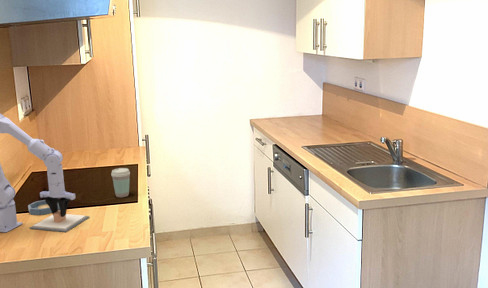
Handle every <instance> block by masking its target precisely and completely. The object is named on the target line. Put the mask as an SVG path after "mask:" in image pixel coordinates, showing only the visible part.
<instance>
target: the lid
mask: <svg viewBox="0 0 488 288" xmlns="http://www.w3.org/2000/svg"><path fill="white" fill-rule="evenodd" d="M86 216H87V215H83V214H81V215H80V214H71V213H69V214H68V213H66V215H65V216H64V217H61V213H60V210H58V211H57V212H55V213H53V214H52V215H49V216H48V217H46V218H44V219H43V220H41V221H38V222H37V223H35V224H33V225H32V226H33V227H39V228H49V229H60V230H66V229H68V228H69V227H71V226H72V225H74V224H76V223H77V222H79V221H80V220H82V219H84V218H85V217H86Z"/></svg>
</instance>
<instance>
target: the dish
mask: <svg viewBox="0 0 488 288" xmlns="http://www.w3.org/2000/svg"><path fill="white" fill-rule="evenodd" d="M45 200H46V199H43V200H37V201H34V202H32V203H30V204H28V205H27V208H28V212H29V215H35V216H44V215H49V214H52V211H51V209H50V207H49V206H48V204H47V203H46V202H45ZM59 210H60V207H59V204H58V211H59Z"/></svg>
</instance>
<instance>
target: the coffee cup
mask: <svg viewBox="0 0 488 288" xmlns="http://www.w3.org/2000/svg"><path fill="white" fill-rule="evenodd" d="M130 174H131V171H130V169H129V168H127V167H119V168H114V169H112V170H111V174H110V175H111V176H110V177H111V178H112V183H113V187H114V188H113V189H114V194H115V196H116V197H117V198H126V197H128V196H129V194H130V179H131V178H130V177H131V175H130Z"/></svg>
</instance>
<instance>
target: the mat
mask: <svg viewBox="0 0 488 288" xmlns="http://www.w3.org/2000/svg"><path fill="white" fill-rule="evenodd" d="M85 216H86V217H85V218H84V219H82V220H80V221H79V222H77V223H76V224H74V225H72V226H71V227H69V228H68V229H66V230H60V229H49V228H39V227H33V225H31V226H30V227H29V230H38V231H47V232H58V233H68V232H69V231H70V230H72V229H74V228H76V226H78V225H80V224H82V223H83V222H85V221H86V220H88V219H90V215H89V216H88V215H85Z"/></svg>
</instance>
